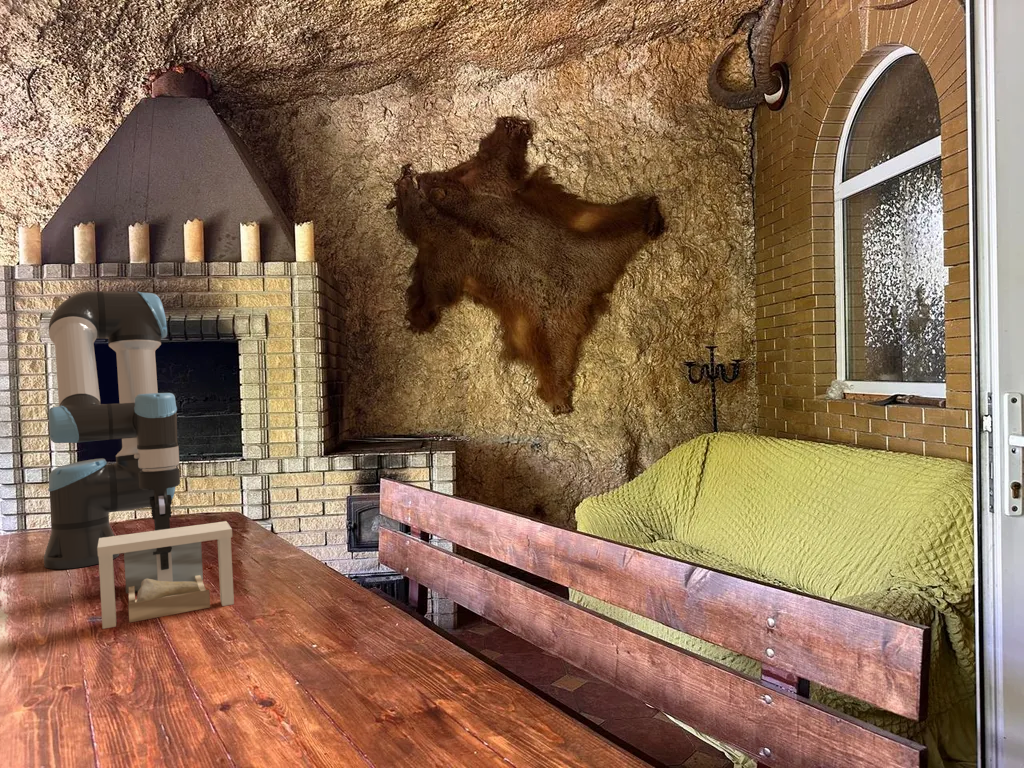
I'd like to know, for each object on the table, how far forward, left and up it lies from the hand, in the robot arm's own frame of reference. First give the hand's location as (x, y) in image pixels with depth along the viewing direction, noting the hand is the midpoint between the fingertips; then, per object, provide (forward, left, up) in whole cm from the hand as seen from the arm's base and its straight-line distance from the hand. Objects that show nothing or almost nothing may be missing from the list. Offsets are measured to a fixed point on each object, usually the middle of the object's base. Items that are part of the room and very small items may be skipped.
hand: (164, 581), depth 142 cm
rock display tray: (+10, 0, -1) cm, 10 cm away
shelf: (+20, 0, -1) cm, 21 cm away
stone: (+14, 0, 0) cm, 15 cm away
